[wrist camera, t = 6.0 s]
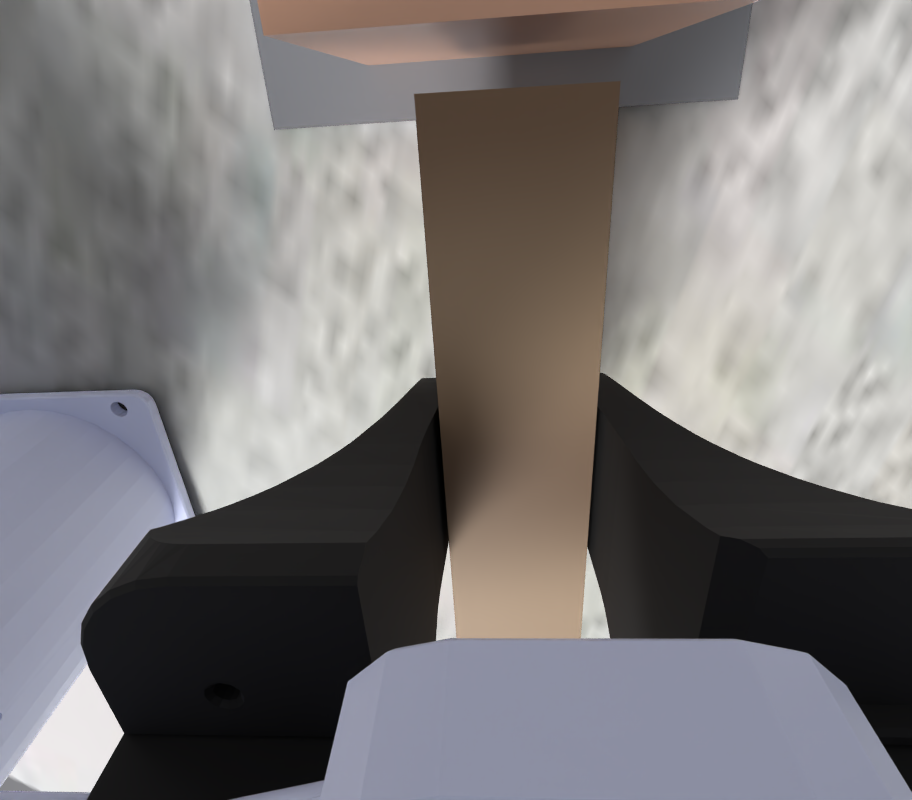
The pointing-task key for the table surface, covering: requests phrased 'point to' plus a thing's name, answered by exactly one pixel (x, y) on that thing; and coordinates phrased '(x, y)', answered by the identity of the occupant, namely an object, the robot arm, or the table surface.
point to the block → (475, 25)
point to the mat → (501, 74)
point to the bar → (518, 339)
